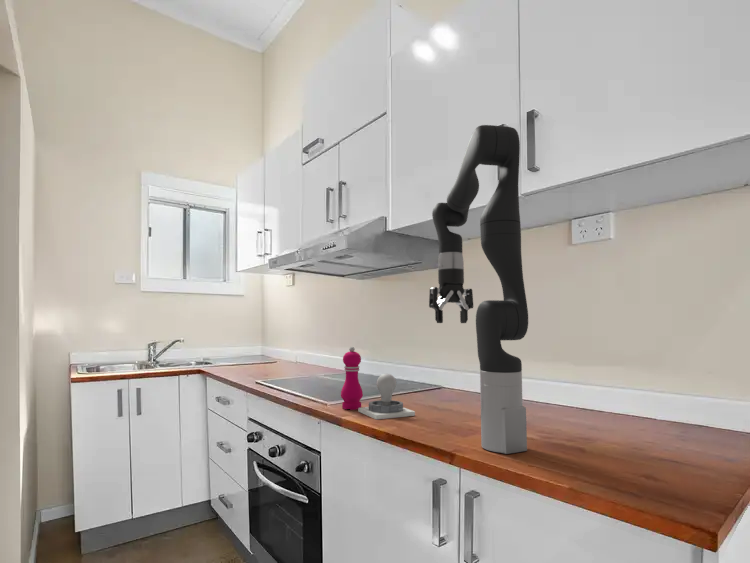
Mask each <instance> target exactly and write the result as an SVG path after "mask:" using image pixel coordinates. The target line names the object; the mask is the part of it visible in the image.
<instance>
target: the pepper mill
mask: <svg viewBox="0 0 750 563" xmlns="http://www.w3.org/2000/svg"><path fill="white" fill-rule="evenodd" d="M342 362H343V364H344V365H345V366H344V372H345V379H344V383H343V385H342V388H341V391H340V398H341V399H342V400H343V402H342V403H341V405H342V407H341V408H342V409H344V410H347V409H350V410H349V411H352V410H353V411H354V410H358V408H361V407H362V402H361V400H362V399H363V395H364V393H363V389H362V386H361V384H360V381H359V371H360V366H359V365H360V364H361V362H362V356H361V354H360V353H358V352H357V351H355V347H354V346H350V347H349V351H347V352H345V353H344V354H343V357H342Z"/></svg>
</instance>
